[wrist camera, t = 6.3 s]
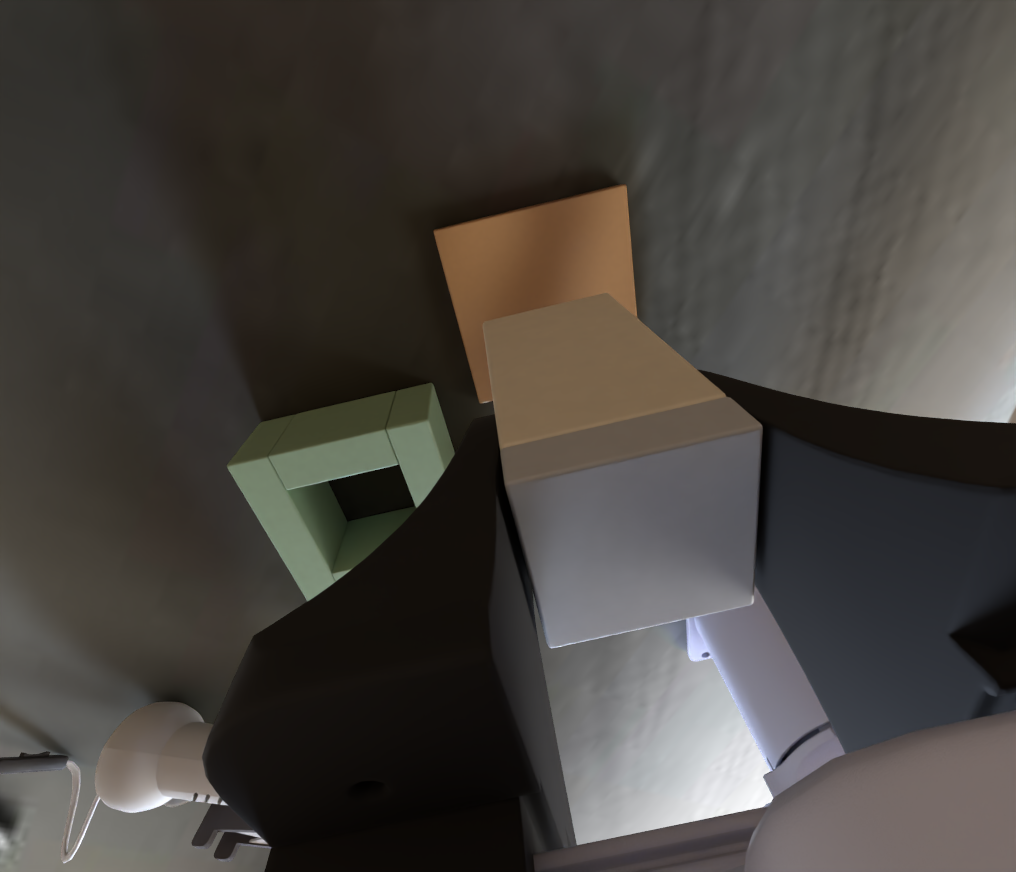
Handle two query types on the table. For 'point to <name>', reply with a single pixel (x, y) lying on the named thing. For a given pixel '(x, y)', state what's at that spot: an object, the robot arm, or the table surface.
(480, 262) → the cork pad
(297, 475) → the holder
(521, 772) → the robot arm
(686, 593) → the cream rectangular block
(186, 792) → the clip-on lamp
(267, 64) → the table surface
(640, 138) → the table surface
